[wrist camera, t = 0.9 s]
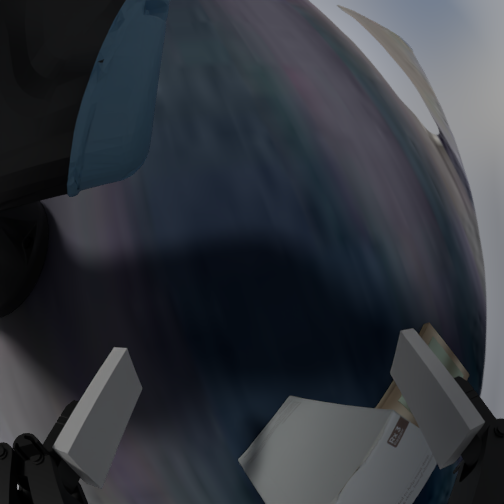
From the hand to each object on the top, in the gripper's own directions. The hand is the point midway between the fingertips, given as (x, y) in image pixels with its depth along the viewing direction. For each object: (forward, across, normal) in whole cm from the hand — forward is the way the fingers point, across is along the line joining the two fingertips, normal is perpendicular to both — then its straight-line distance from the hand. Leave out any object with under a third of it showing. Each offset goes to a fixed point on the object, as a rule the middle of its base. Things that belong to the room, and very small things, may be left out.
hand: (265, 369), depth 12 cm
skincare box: (+5, +2, -14) cm, 15 cm away
